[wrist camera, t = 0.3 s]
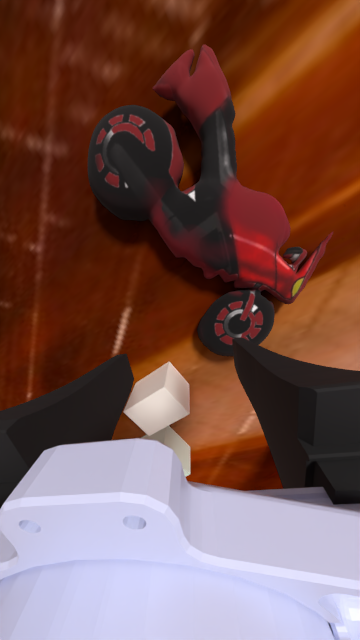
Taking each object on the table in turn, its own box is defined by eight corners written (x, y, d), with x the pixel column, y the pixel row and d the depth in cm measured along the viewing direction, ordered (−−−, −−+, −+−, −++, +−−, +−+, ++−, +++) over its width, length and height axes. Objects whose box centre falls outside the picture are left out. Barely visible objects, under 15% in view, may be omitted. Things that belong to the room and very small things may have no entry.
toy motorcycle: (218, 352, 24) (353, 289, 18) (219, 377, 19) (401, 304, 14) (97, 176, 19) (231, 9, 13) (57, 153, 14) (240, -127, 8)
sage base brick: (190, 445, 28) (190, 474, 24) (161, 459, 29) (157, 489, 26) (166, 422, 27) (163, 448, 23) (137, 438, 28) (129, 465, 24)
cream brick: (189, 384, 24) (189, 414, 19) (156, 403, 26) (148, 436, 21) (169, 361, 23) (164, 386, 18) (135, 382, 24) (123, 411, 20)
